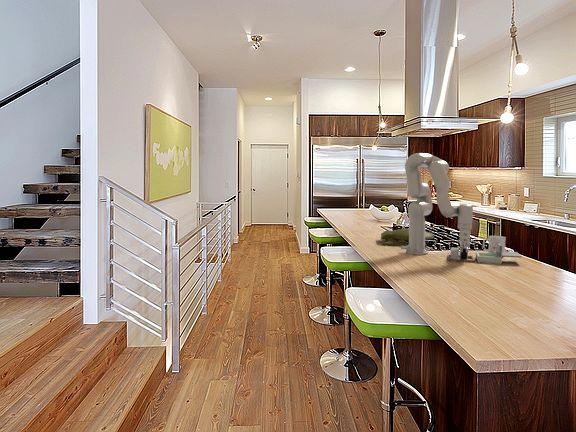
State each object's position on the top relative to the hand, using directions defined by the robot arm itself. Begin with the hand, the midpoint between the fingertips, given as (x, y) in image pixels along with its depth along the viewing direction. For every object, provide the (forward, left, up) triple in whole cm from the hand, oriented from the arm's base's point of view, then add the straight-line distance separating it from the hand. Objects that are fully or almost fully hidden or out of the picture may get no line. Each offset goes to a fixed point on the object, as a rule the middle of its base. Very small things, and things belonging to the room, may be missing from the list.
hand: (463, 258), depth 275 cm
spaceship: (-33, +51, -2) cm, 60 cm away
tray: (-1, 0, -1) cm, 2 cm away
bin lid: (+23, 0, +3) cm, 23 cm away
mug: (+18, +18, -1) cm, 25 cm away
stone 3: (0, 0, -1) cm, 1 cm away
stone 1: (-5, +2, -1) cm, 5 cm away
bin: (+13, 0, -1) cm, 13 cm away
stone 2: (-5, -3, -1) cm, 6 cm away
